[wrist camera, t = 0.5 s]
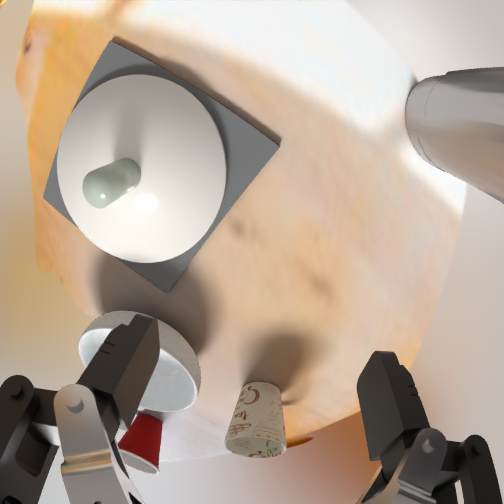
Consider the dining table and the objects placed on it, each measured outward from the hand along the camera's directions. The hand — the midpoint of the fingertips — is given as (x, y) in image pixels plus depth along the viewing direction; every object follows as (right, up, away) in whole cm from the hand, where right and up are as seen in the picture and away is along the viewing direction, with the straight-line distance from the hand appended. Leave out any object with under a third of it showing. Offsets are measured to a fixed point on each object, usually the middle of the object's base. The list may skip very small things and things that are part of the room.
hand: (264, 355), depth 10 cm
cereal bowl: (-14, -9, +27) cm, 32 cm away
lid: (-12, +11, +15) cm, 22 cm away
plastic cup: (-23, -33, +41) cm, 57 cm away
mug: (+2, -19, +31) cm, 36 cm away
